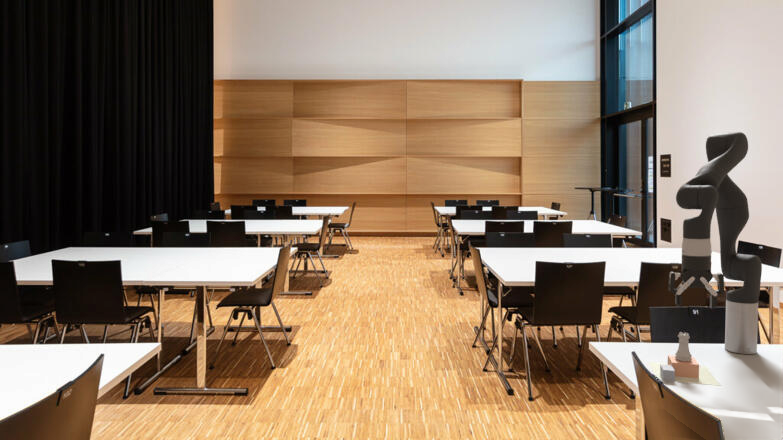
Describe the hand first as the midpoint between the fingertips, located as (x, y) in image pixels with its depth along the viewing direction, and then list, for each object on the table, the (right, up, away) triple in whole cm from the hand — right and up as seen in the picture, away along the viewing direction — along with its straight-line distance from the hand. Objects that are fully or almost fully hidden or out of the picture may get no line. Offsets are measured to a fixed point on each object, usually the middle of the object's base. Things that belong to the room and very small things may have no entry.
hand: (695, 307), depth 157 cm
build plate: (-4, -21, 0) cm, 21 cm away
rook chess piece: (-4, -16, 0) cm, 16 cm away
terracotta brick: (-4, -20, 0) cm, 20 cm away
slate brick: (-10, -20, -3) cm, 22 cm away
